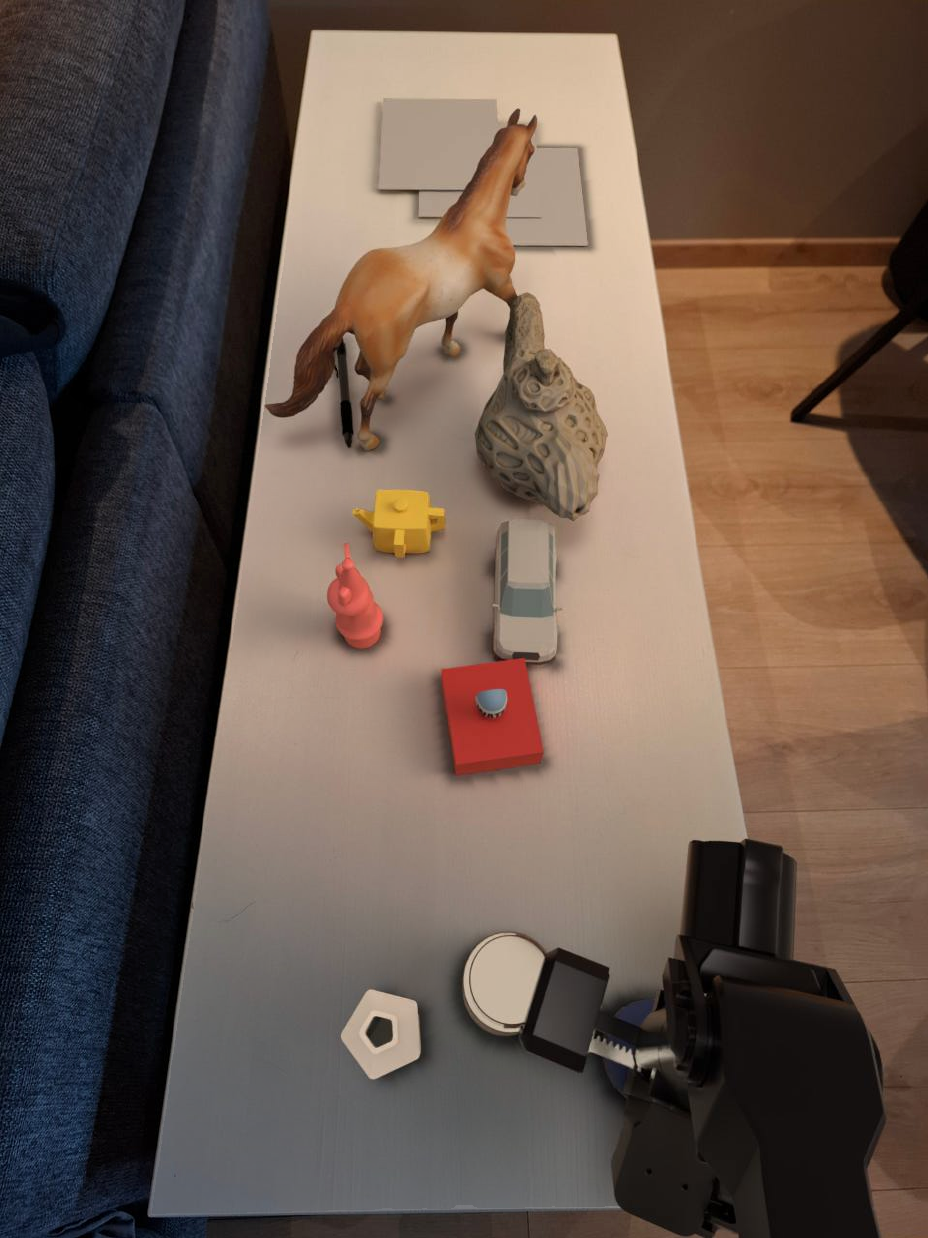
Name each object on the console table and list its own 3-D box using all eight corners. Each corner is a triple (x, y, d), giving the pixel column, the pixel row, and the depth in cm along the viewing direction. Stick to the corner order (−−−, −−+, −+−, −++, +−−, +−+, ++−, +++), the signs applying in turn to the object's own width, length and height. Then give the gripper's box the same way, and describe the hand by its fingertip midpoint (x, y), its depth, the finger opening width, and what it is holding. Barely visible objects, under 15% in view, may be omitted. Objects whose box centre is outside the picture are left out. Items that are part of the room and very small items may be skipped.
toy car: (489, 669, 72) (491, 644, 67) (492, 539, 78) (495, 508, 73) (557, 672, 72) (565, 647, 67) (556, 541, 78) (562, 510, 73)
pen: (330, 342, 88) (328, 333, 87) (346, 340, 88) (345, 332, 87) (338, 451, 82) (336, 443, 81) (355, 449, 82) (354, 442, 81)
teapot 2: (623, 549, 77) (660, 444, 64) (499, 571, 76) (510, 468, 63) (563, 372, 87) (584, 248, 73) (451, 389, 86) (451, 266, 72)
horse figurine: (508, 289, 92) (522, 99, 73) (559, 330, 89) (588, 143, 71) (274, 445, 82) (224, 271, 64) (325, 495, 80) (287, 328, 61)
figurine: (334, 613, 74) (315, 539, 63) (382, 606, 74) (370, 532, 64) (339, 656, 72) (320, 587, 62) (388, 649, 73) (377, 579, 62)
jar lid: (639, 978, 61) (645, 976, 60) (718, 1050, 59) (726, 1050, 58) (581, 1056, 59) (584, 1056, 57) (660, 1133, 57) (667, 1136, 55)
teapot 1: (353, 568, 76) (347, 537, 71) (359, 514, 79) (353, 480, 74) (444, 571, 76) (443, 540, 71) (446, 516, 79) (446, 483, 74)
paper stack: (572, 104, 106) (573, 99, 105) (587, 245, 95) (588, 240, 94) (383, 103, 106) (383, 97, 105) (376, 244, 94) (375, 239, 94)
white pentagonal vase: (354, 1065, 59) (325, 1069, 45) (371, 997, 60) (349, 981, 47) (419, 1082, 58) (409, 1092, 45) (434, 1013, 60) (430, 1002, 47)
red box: (540, 763, 68) (548, 737, 63) (455, 775, 68) (456, 750, 62) (521, 671, 72) (528, 639, 66) (441, 682, 71) (440, 651, 66)
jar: (548, 1036, 59) (561, 1033, 52) (461, 1035, 59) (462, 1032, 52) (545, 944, 62) (557, 928, 55) (462, 943, 62) (463, 927, 55)
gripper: (493, 1150, 43) (483, 1125, 57) (866, 1314, 40) (760, 1246, 54) (561, 931, 48) (536, 958, 62) (899, 1065, 45) (793, 1061, 59)
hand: (651, 1054), depth 59 cm, fingers open, 9 cm apart
